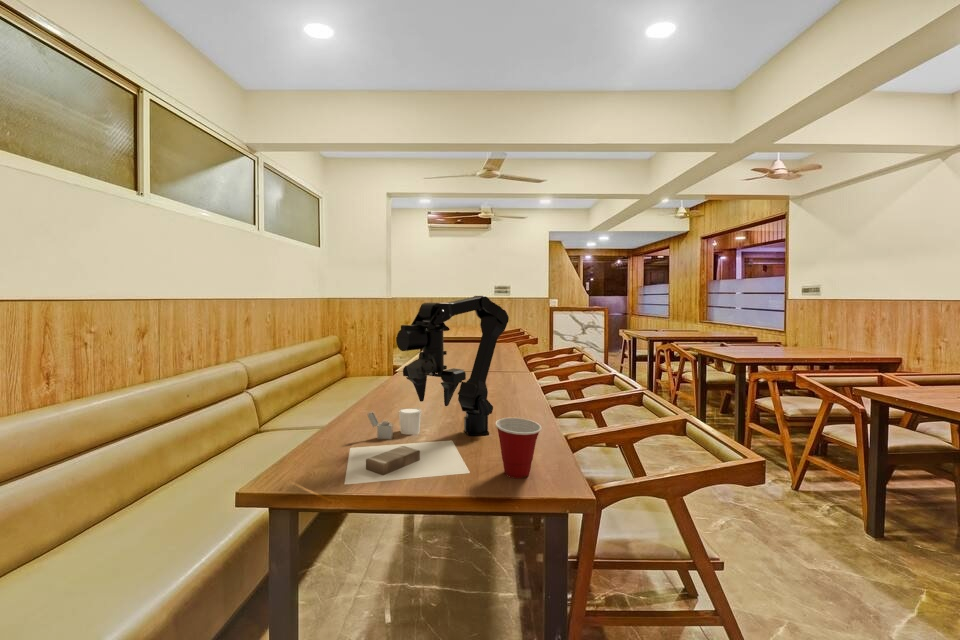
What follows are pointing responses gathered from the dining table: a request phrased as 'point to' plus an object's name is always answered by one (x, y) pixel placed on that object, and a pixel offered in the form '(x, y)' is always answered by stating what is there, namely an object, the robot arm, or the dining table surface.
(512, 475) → the plastic cup
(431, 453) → the mat
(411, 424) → the white cylinder
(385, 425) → the lighter
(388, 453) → the wood grain block
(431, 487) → the dining table surface
